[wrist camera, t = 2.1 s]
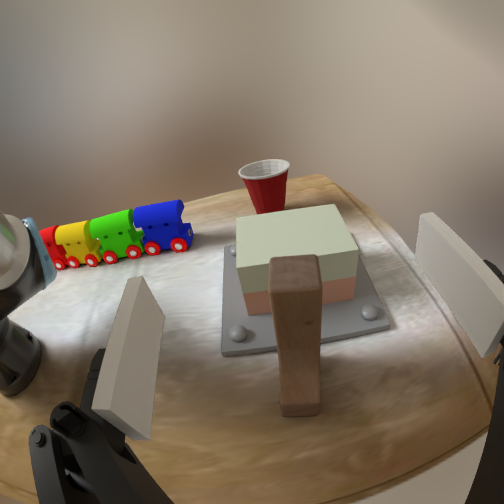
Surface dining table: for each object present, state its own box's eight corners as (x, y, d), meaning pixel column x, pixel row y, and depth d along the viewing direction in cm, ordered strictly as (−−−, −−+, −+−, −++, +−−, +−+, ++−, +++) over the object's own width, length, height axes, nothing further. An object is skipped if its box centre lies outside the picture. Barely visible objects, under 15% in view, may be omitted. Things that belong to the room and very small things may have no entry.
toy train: (38, 277, 63) (17, 244, 56) (49, 260, 69) (30, 227, 62) (193, 252, 61) (178, 205, 54) (196, 232, 67) (183, 188, 60)
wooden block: (319, 416, 31) (328, 333, 20) (282, 417, 32) (265, 337, 20) (316, 355, 38) (317, 251, 27) (283, 357, 38) (269, 255, 27)
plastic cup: (278, 198, 72) (273, 152, 65) (304, 216, 64) (300, 166, 57) (239, 213, 69) (229, 166, 62) (260, 234, 61) (251, 182, 54)
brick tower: (223, 356, 40) (202, 307, 33) (225, 251, 59) (213, 203, 52) (388, 329, 39) (404, 275, 32) (344, 233, 57) (346, 185, 51)
